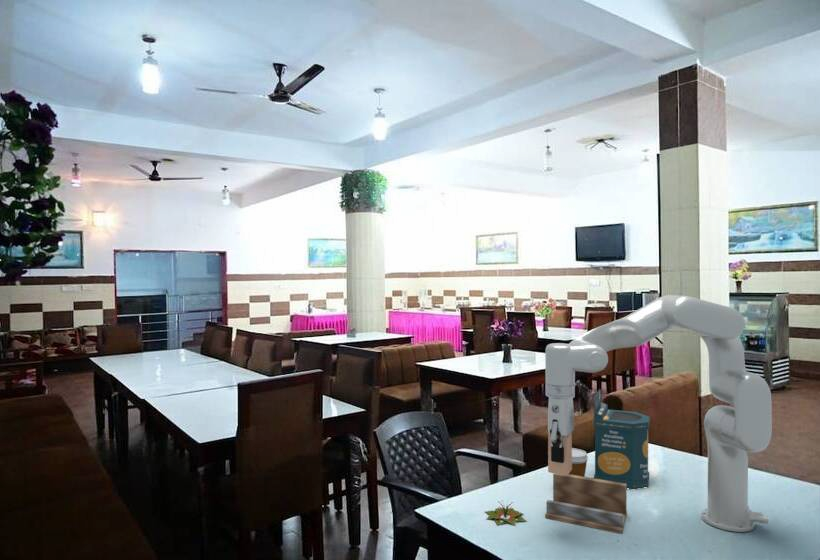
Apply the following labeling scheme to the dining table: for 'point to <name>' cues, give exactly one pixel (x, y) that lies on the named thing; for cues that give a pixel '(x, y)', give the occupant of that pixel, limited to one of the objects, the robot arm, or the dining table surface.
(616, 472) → the donation box
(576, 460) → the disposable coffee cup
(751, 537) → the dining table surface
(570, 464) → the terracotta block
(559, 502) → the cleat board
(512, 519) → the lily flower
